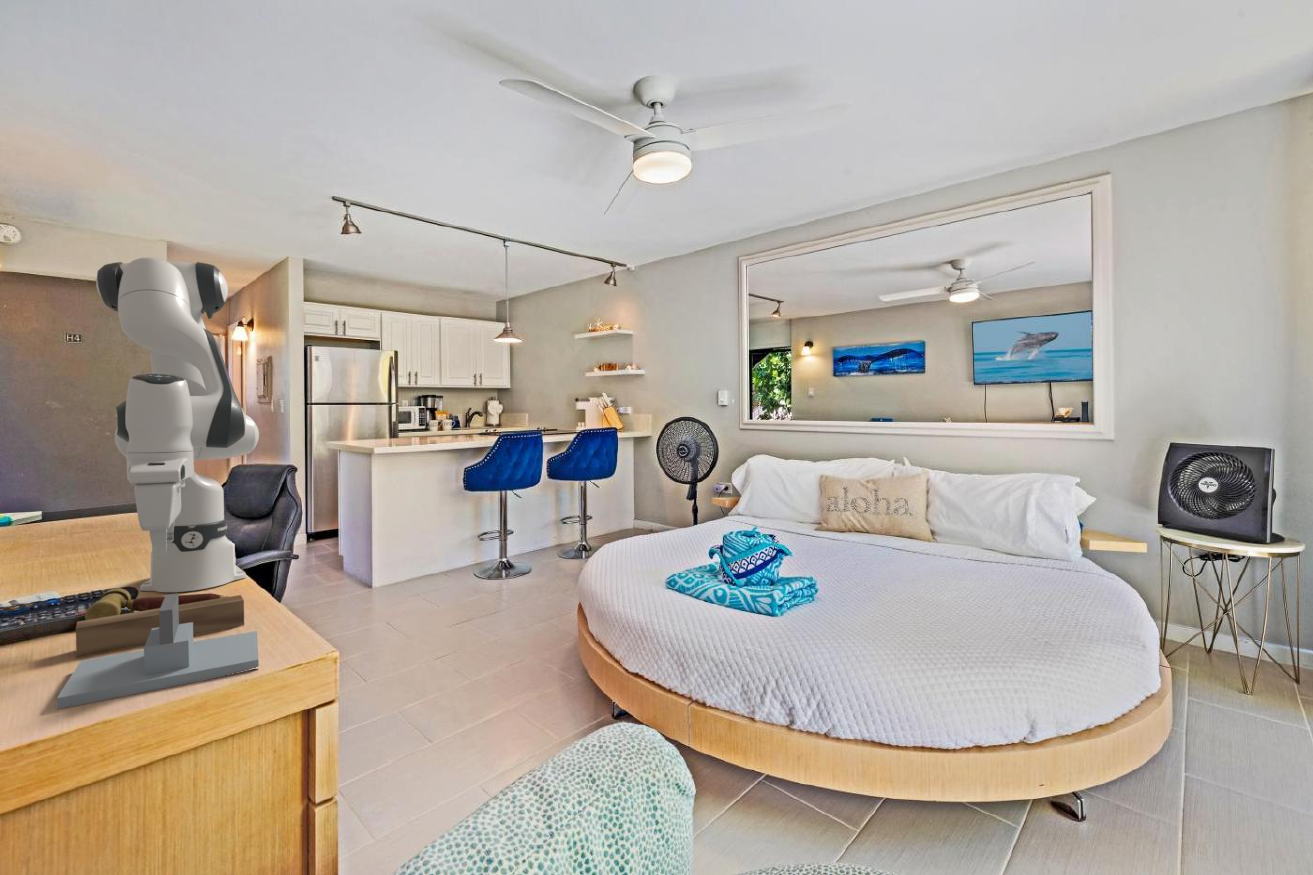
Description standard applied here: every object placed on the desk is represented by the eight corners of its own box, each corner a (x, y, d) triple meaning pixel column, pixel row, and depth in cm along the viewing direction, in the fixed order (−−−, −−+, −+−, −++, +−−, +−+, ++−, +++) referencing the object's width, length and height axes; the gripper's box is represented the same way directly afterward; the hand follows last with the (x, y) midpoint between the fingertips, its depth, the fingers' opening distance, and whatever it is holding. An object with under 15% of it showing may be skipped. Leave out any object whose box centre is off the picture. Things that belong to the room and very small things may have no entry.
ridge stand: (81, 670, 89) (79, 601, 88) (257, 639, 101) (256, 579, 101) (57, 709, 77) (54, 631, 77) (258, 669, 90) (257, 601, 89)
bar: (78, 651, 96) (77, 621, 96) (241, 620, 111) (240, 594, 111) (76, 659, 93) (75, 628, 93) (244, 626, 108) (243, 600, 108)
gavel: (232, 581, 125) (228, 593, 117) (231, 602, 125) (226, 616, 117) (101, 589, 114) (85, 603, 106) (99, 612, 114) (83, 628, 106)
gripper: (145, 465, 107) (148, 539, 108) (126, 474, 91) (129, 562, 91) (189, 463, 111) (191, 535, 111) (179, 472, 94) (181, 557, 95)
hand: (163, 548), depth 101 cm, fingers open, 8 cm apart
